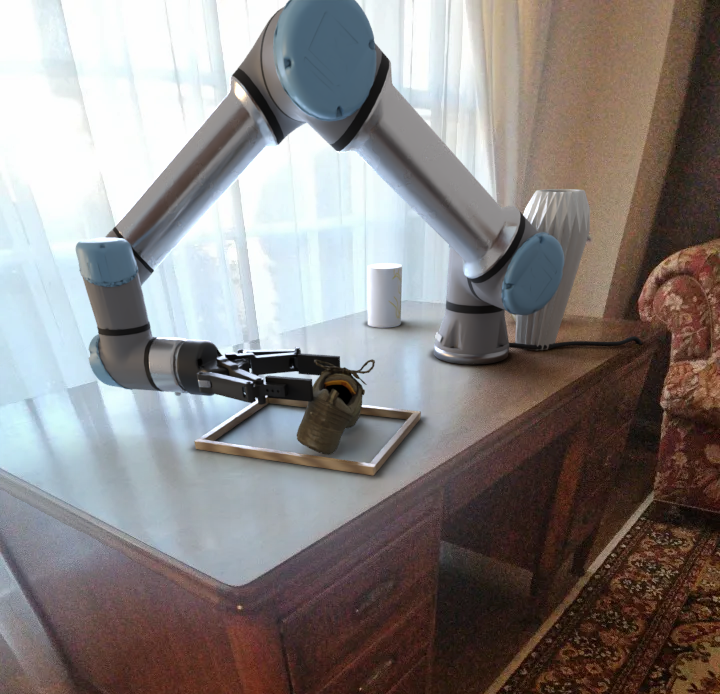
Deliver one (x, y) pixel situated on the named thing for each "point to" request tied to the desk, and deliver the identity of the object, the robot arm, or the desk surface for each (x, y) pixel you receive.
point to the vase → (571, 228)
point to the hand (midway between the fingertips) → (326, 377)
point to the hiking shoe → (332, 407)
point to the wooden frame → (371, 468)
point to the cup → (384, 294)
